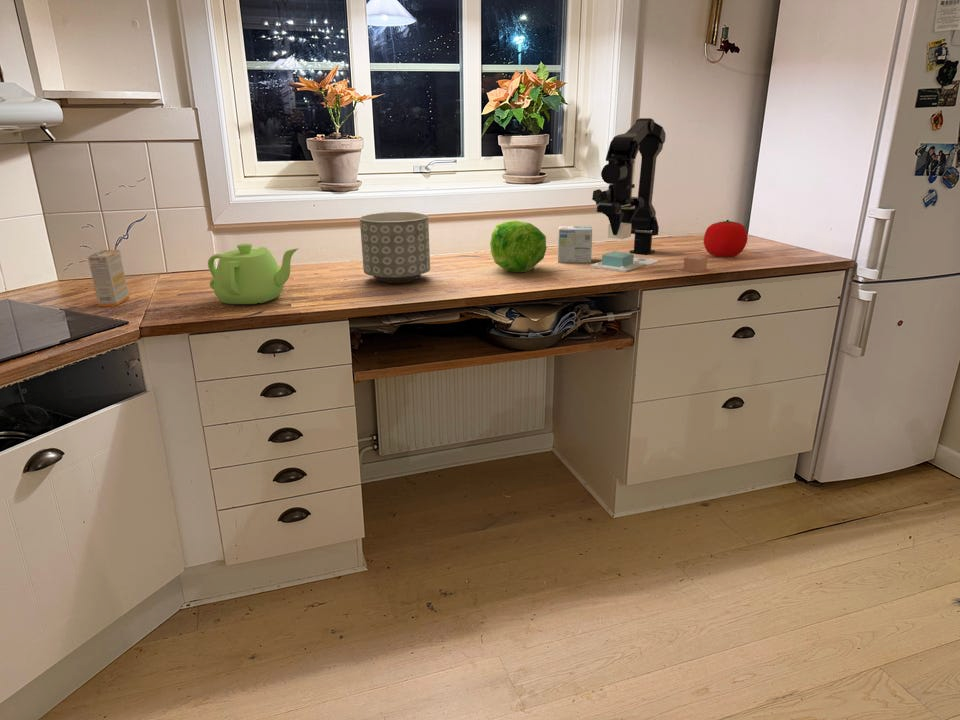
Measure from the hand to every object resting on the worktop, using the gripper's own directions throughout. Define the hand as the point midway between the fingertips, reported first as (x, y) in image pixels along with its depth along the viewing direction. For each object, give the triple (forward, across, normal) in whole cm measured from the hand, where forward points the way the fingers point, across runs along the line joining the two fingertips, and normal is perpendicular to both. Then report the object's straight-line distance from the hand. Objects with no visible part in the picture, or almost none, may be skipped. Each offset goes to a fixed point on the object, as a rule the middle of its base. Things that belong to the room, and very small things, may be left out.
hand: (619, 233), depth 206 cm
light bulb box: (+10, +1, -15) cm, 18 cm away
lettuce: (+10, +23, -22) cm, 33 cm away
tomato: (+10, -34, +20) cm, 41 cm away
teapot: (+10, +91, -55) cm, 107 cm away
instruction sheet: (+10, -10, +2) cm, 15 cm away
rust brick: (+10, -9, +21) cm, 25 cm away
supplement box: (+10, +116, -82) cm, 142 cm away
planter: (+10, +54, -41) cm, 69 cm away
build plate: (+10, 0, 0) cm, 10 cm away
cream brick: (+1, 0, 0) cm, 1 cm away
